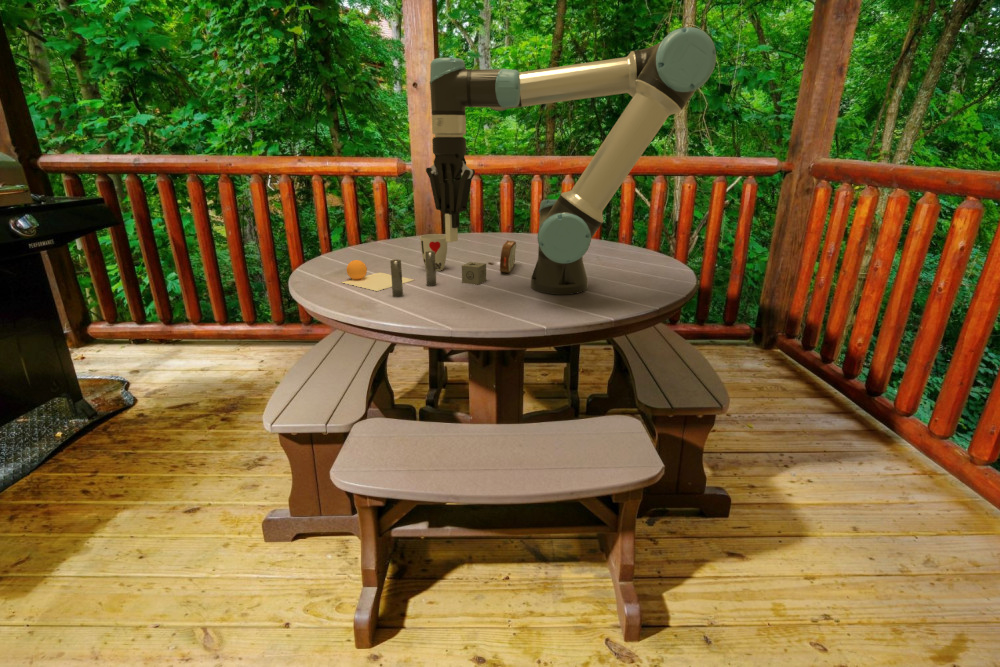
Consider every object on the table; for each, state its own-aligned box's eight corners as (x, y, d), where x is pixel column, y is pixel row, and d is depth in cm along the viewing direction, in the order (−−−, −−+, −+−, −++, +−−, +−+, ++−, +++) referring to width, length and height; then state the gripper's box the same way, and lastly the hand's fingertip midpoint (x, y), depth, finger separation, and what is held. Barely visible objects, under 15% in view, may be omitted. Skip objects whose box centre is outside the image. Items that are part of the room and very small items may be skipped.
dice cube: (470, 279, 150) (470, 261, 148) (486, 281, 148) (486, 263, 146) (462, 283, 146) (461, 265, 144) (478, 285, 144) (478, 267, 142)
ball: (373, 274, 148) (366, 255, 147) (358, 278, 143) (350, 259, 143) (362, 279, 151) (355, 261, 151) (347, 284, 147) (339, 265, 146)
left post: (405, 295, 134) (403, 260, 131) (397, 297, 132) (395, 262, 129) (397, 293, 135) (395, 259, 132) (390, 295, 133) (388, 260, 130)
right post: (438, 284, 144) (437, 251, 140) (431, 286, 142) (430, 253, 138) (431, 283, 145) (429, 250, 142) (424, 285, 143) (423, 252, 140)
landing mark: (414, 280, 148) (414, 279, 147) (376, 291, 137) (376, 290, 137) (379, 272, 155) (379, 272, 155) (341, 283, 144) (341, 282, 144)
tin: (507, 264, 167) (507, 237, 164) (516, 264, 167) (517, 238, 164) (498, 275, 153) (499, 247, 150) (509, 276, 153) (509, 247, 150)
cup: (416, 271, 157) (415, 237, 154) (429, 265, 165) (427, 233, 161) (441, 273, 155) (440, 239, 151) (452, 267, 162) (452, 235, 158)
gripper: (416, 135, 119) (421, 240, 127) (461, 136, 112) (463, 246, 120) (438, 135, 124) (441, 235, 133) (482, 136, 117) (482, 241, 126)
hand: (451, 241), depth 126 cm, fingers closed
